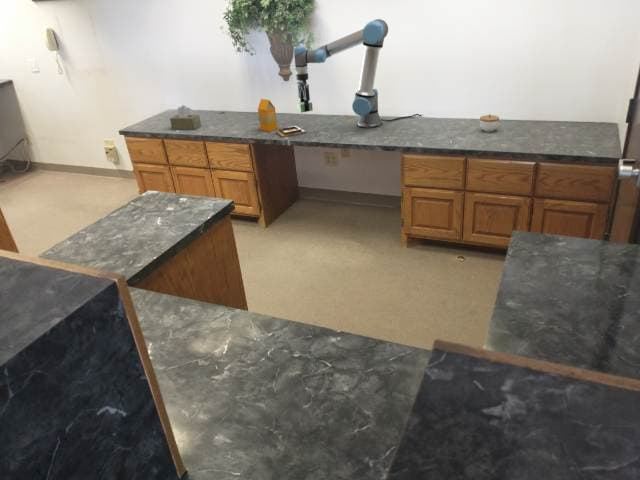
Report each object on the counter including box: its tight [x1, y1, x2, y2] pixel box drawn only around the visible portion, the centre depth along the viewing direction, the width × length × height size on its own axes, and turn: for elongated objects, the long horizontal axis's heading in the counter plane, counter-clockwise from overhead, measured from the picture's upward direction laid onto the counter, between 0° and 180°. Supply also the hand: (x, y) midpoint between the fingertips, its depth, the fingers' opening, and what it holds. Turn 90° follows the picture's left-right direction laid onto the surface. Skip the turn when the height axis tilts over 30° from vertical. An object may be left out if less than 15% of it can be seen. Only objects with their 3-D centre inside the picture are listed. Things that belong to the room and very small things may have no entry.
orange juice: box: [257, 98, 278, 133], centre depth 337 cm, size 8×9×20 cm
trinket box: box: [479, 114, 500, 133], centre depth 299 cm, size 11×11×9 cm
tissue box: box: [169, 104, 202, 131], centre depth 359 cm, size 19×10×16 cm, turn 73°
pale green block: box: [296, 101, 314, 114], centre depth 327 cm, size 8×6×5 cm
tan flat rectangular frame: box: [275, 125, 306, 138], centre depth 330 cm, size 16×12×2 cm
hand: (305, 110), depth 328 cm, fingers closed on pale green block, 6 cm apart
